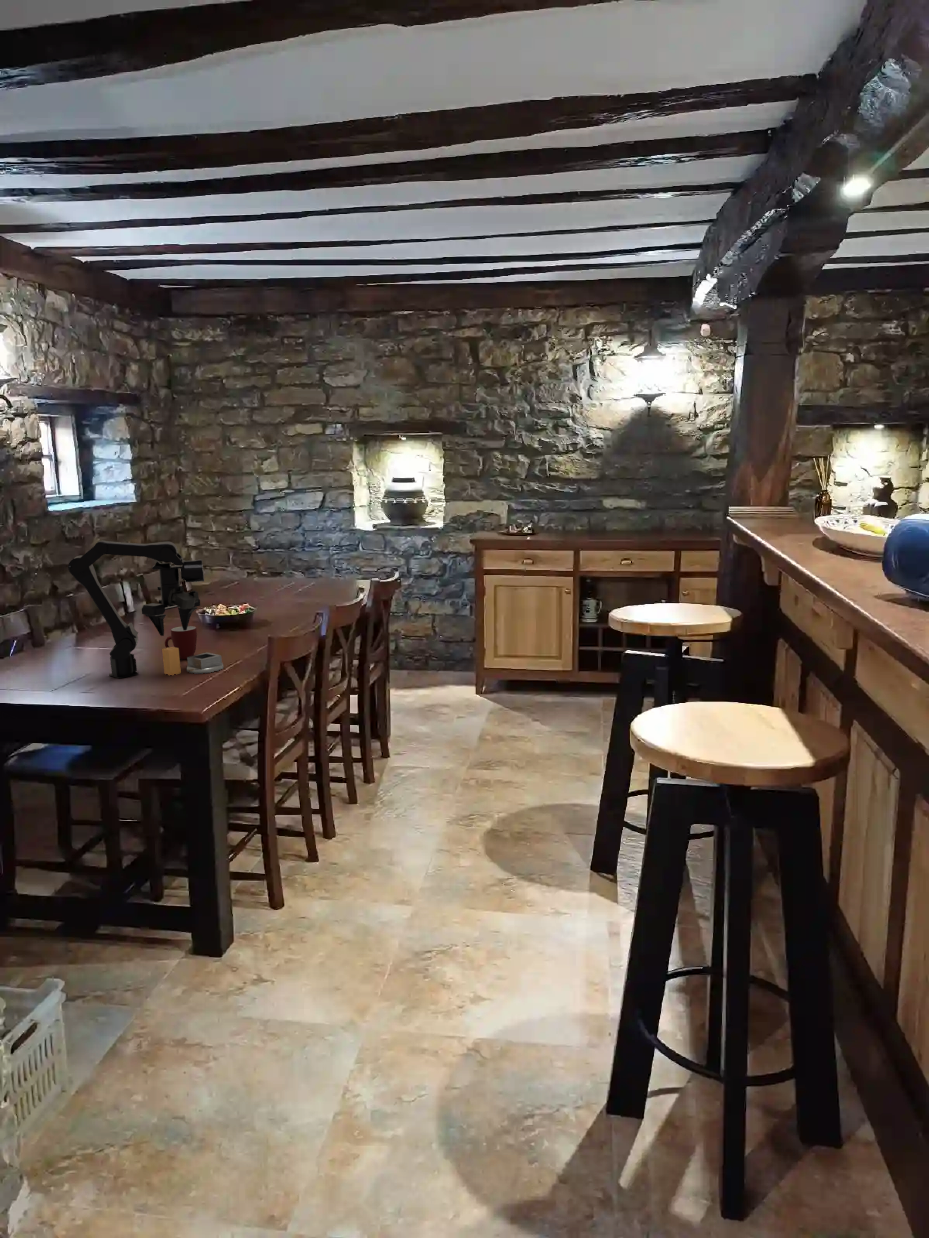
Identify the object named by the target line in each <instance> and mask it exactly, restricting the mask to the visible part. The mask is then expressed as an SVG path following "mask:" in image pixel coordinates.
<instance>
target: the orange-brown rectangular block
mask: <svg viewBox="0 0 929 1238" xmlns="http://www.w3.org/2000/svg"><path fill="white" fill-rule="evenodd" d="M161 650H162V651H161V652H162V661H163V663H162V664H163V673H164V675H166V674H168V675H167V676H170V675H172V676H175V675H174V674H176V675H179V674H181V673H182V671H181V670H182V669H181V659H180V658H179V648H176V647H174V646H169V647H168V648H166V647H164V648H162V649H161Z"/></svg>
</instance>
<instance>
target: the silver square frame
mask: <svg viewBox="0 0 929 1238" xmlns="http://www.w3.org/2000/svg"><path fill="white" fill-rule="evenodd" d="M186 660H187V666H186V672H187V673H188V672H189V673H188V674H193V673H194V674H196V675H197V674H198V675H203V673H205V674H212V673H215V672H214V671H217V672H220V671H222V670H223V669H224V663H223V662H222V661H223V660H222V655H221V654H217V653H216V654H215V653H212V652H202V653H200V654H194V655H193V656H189V657H187V659H186ZM221 669H222V670H221ZM219 670H220V671H219ZM211 672H212V673H211Z"/></svg>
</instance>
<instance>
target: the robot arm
mask: <svg viewBox="0 0 929 1238" xmlns="http://www.w3.org/2000/svg"><path fill="white" fill-rule="evenodd" d="M178 551H179V550H178V547H177V545H176V544H175V543H174V542H171V541H158V542H152V543H135V542H123V541H121V542H120V541H110V540H109V541H108V540H105V539H102V540H99V541H97V542H95V545H93V547H92V548H90V549H88V551H86V552H85V553H84V554H83V555H77V556H75V557H73V559H71V560H70V561H69V562H68V566H67V568H68V572H69V574H71V576H72V577H73V578H74V579H75V580H76V581H77V582H78V583H79V584H80V585H81V586H83V587H84V588H85V589H86V591H87V593H88V594H89V597H90V598H91V599H92V601H93V603H94V604H95V605H96V607H97V609H98V610H99V612H100V614H101V615H102V616H103V619H104V620H105V622H106V623H107V625H108V626H109V628H110V630H111V631H110V632H111V634H112V638H113V640H114V643H115V644H114V645H113V647H112V649H111V650H110V652H109V655H110V657H109V659H110V670H111V673H109V674H108V675H109V676H110V677H113V678H116V679H125V678H128V677H132V676H137V675H139V671H138V668H137V667H138V666H137V659H136V658H135V654H133V653H132V652H133V651H134V650H135V649H136V647H137V645H138V643H139V636H138V635H139V632H138V631H137V630H136V629H135V627H134V624H133V622H129V623H126V622H125V621H124V620H123V618H122V617H121V616H120V614H119V612H118V611H117V609H116V608H115V606H114V604H113V603H112V601H111V599H110V597H109V596H108V595H107V593H106V591H105V590H104V589H103V587H102V585H101V583H100V582H99V580H98V576H97V573H96V570H95V567H94V565H93V564H95V562H96V561H98V560H99V559H100V558H101V557H103V556H104V555H112V556H113V555H114V556H126V557H127V556H128V557H141V558H142V557H143V558H148V559H151V560H155V561H156V562H155V564H154V565H153V566H152V568H151V569H152V570H153V571H154V570H158V574H159V586H157V588H156V589H157V591H160V597H161V598H160V599H158V603H154V602H153V603H151V602H150V603H147V604H146V603H145V604H143V605H142V607H141V615H145V617H148V618H149V620H150V621H151V623H152V624H153V625H154V628H156V630H157V632H158V634H159V635H160V636H161V637H164V636H165V624H164V620H165V617H166V616H167V614H165V612H166V611H167V610H172V609H175V608H177V610H178V615H179V619H180V623H181V627H183V630H187V627H188V626H189V624H190V623H189V622H190V619H191V616H192V613H193V612H194V611H196V610H197V609H198V607H201V599H200V597H199V592H198V591H197V590H191V591H190V592H189V591H188V592H185V590H184V589H185V588H184V587H183V586H184V585H181V583H180V580H183V581H184V582H185V583H200V582H205V570H204V567H203V566H204V565H203V559H195V560H193V559H192V560H185V559H184V557H183V556H182V555H181V553H179V552H178ZM161 562H162V563H161ZM163 562H164V563H163ZM171 564H173V565H171ZM179 569H180V571H179ZM179 572H180V573H179ZM180 577H181V579H180Z"/></svg>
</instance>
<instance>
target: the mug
mask: <svg viewBox="0 0 929 1238" xmlns="http://www.w3.org/2000/svg"><path fill="white" fill-rule="evenodd" d="M197 638H198V633H197V626H192V625H188V627H187V630H183V627H182V626H178V627H173V628H171V629H170V636H168V637H166V638H165V640H164V648H168V647H170V646H169V641H170V640H171V641H172V644H173V647H176V648H179V658H180V660H187V657H189V656H194V655H195V653H196V649H197V640H198V639H197Z"/></svg>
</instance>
